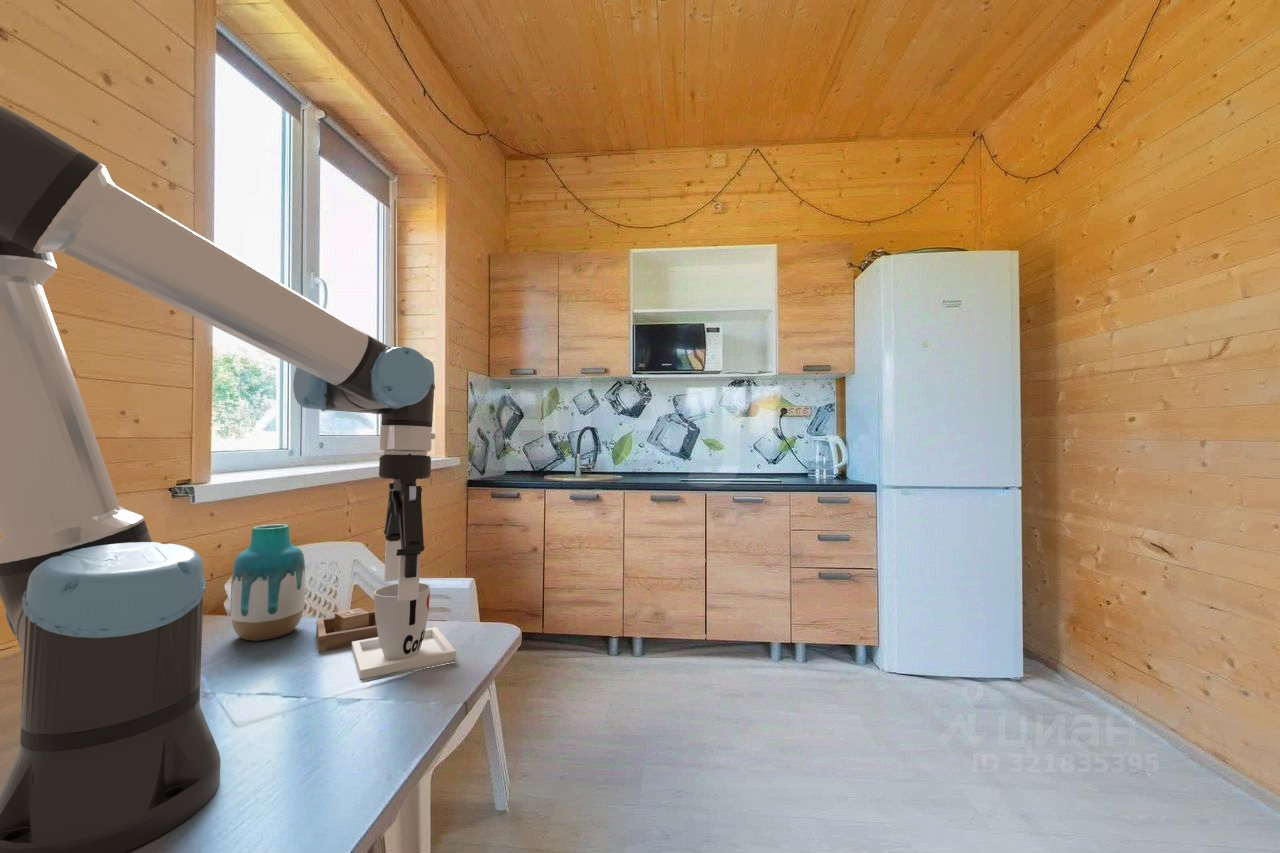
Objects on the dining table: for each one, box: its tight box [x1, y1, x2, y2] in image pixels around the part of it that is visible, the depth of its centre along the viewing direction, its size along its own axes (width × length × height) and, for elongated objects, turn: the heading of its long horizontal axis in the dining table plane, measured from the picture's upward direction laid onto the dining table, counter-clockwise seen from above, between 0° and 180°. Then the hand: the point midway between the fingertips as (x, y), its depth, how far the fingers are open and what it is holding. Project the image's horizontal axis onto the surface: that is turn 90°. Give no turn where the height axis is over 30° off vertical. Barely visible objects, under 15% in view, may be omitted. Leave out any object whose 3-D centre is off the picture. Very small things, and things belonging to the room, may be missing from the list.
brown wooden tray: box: [315, 610, 378, 653], centre depth 91 cm, size 10×10×3 cm
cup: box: [373, 582, 431, 660], centre depth 84 cm, size 8×8×10 cm
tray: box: [351, 626, 457, 684], centre depth 84 cm, size 13×13×2 cm
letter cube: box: [334, 607, 369, 632], centre depth 91 cm, size 4×4×4 cm
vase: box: [230, 523, 306, 642], centre depth 93 cm, size 11×11×19 cm
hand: (400, 589), depth 84 cm, fingers open, 13 cm apart
